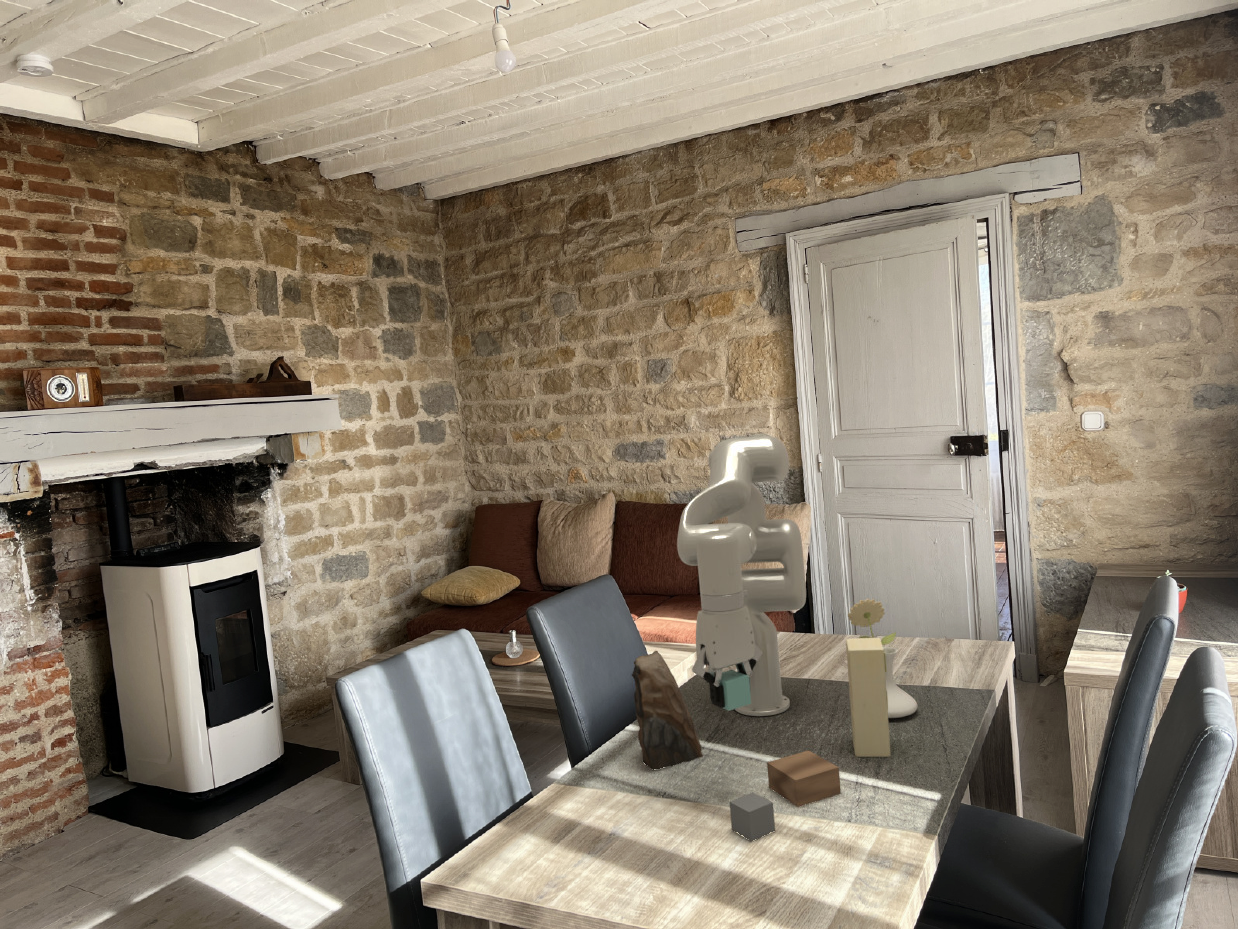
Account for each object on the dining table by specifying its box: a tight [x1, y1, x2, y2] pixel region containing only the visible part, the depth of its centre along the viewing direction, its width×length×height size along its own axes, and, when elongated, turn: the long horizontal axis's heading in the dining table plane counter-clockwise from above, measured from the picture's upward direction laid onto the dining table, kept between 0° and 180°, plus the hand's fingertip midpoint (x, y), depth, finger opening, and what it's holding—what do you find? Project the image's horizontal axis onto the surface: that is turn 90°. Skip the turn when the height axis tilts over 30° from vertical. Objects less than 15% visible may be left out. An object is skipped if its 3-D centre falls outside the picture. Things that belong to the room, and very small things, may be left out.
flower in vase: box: [847, 598, 919, 719], centre depth 187 cm, size 13×11×25 cm
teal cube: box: [720, 669, 751, 712], centre depth 155 cm, size 5×5×5 cm
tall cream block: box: [845, 637, 891, 758], centre depth 170 cm, size 8×7×21 cm
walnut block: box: [766, 750, 842, 808], centre depth 156 cm, size 9×9×5 cm
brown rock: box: [631, 650, 704, 771], centre depth 177 cm, size 13×13×20 cm
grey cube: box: [728, 791, 776, 842], centre depth 143 cm, size 5×5×5 cm
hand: (731, 700), depth 156 cm, fingers closed on teal cube, 5 cm apart
